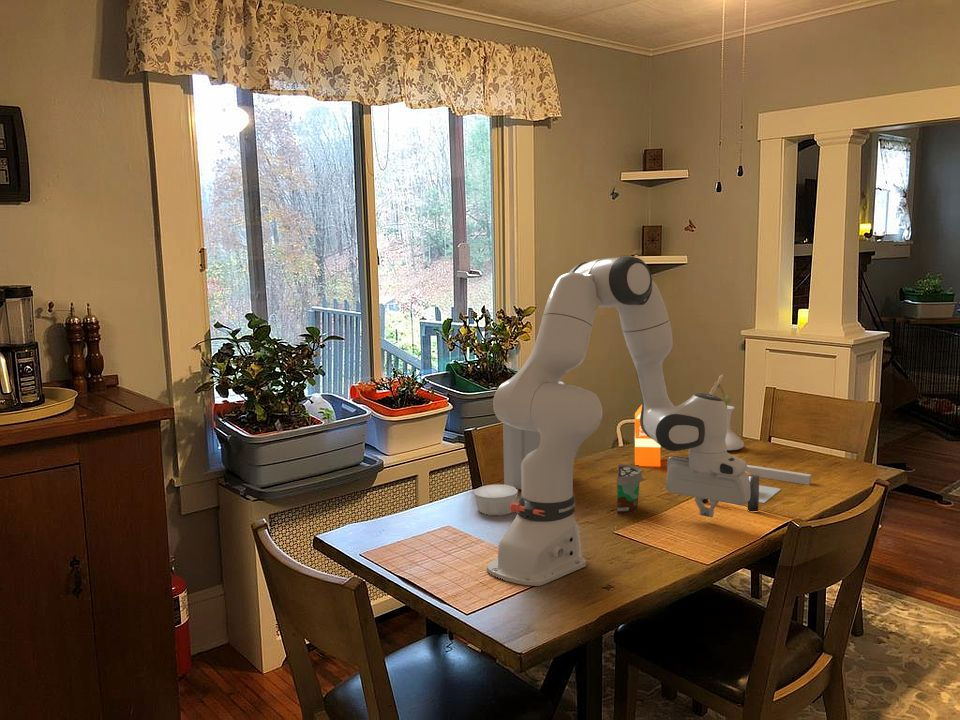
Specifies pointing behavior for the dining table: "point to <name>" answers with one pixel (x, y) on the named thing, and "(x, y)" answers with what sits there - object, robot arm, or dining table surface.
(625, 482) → the food container
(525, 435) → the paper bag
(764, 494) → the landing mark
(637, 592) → the dining table surface
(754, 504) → the right post
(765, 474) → the wall
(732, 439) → the flower in vase
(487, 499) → the ramekin
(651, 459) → the orange juice
